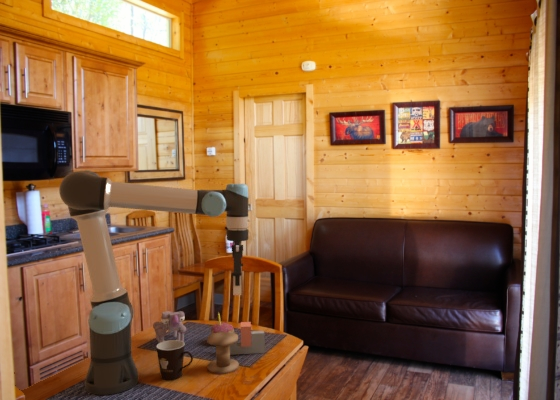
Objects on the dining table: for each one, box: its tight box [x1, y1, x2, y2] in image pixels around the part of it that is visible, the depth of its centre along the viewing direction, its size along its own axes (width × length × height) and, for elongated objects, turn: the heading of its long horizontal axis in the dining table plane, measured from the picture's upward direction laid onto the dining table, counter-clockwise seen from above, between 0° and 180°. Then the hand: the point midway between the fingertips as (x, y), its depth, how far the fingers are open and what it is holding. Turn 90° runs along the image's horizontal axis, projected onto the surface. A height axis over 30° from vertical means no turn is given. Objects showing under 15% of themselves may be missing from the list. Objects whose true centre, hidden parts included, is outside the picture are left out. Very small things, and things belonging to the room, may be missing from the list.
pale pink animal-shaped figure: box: [152, 310, 187, 344], centre depth 178 cm, size 20×11×14 cm, turn 26°
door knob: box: [206, 332, 240, 375], centre depth 158 cm, size 10×10×10 cm
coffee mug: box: [156, 339, 194, 382], centre depth 150 cm, size 12×9×10 cm
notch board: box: [230, 330, 266, 356], centre depth 170 cm, size 14×2×7 cm, turn 95°
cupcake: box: [210, 311, 235, 335], centre depth 180 cm, size 9×8×12 cm
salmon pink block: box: [240, 321, 252, 347], centre depth 170 cm, size 4×5×7 cm
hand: (237, 289), depth 169 cm, fingers open, 13 cm apart
